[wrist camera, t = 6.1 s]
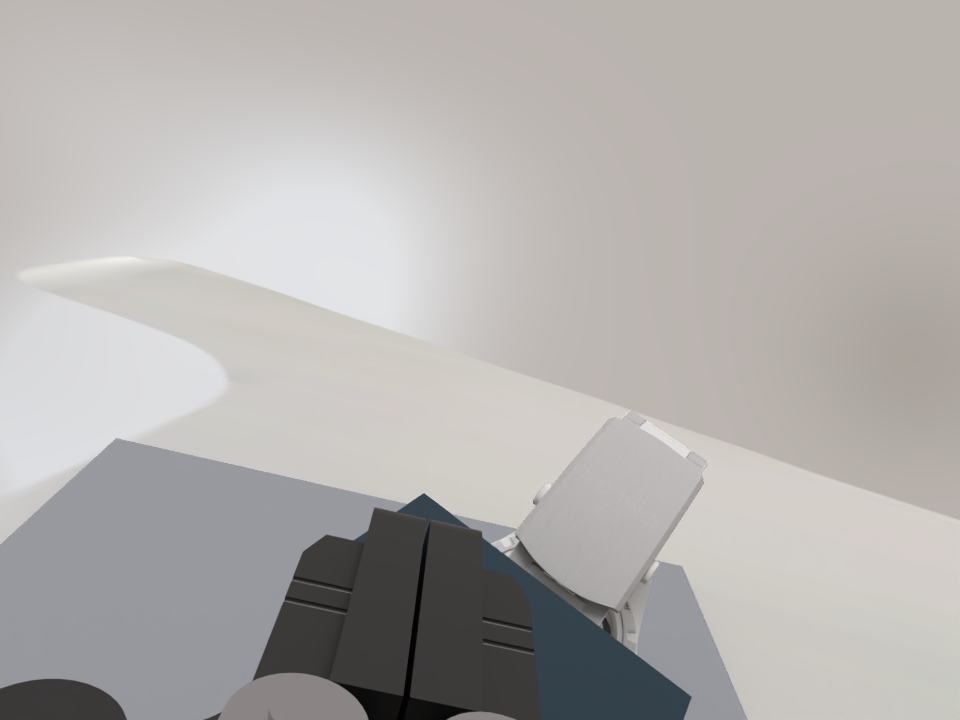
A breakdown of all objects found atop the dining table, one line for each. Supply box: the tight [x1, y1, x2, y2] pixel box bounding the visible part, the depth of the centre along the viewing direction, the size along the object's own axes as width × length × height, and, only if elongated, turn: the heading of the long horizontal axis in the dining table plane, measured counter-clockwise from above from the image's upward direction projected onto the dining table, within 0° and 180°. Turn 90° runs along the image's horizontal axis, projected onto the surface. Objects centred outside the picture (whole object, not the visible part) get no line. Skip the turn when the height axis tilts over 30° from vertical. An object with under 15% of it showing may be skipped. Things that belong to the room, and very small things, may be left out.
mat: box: [0, 439, 747, 720], centre depth 22 cm, size 20×14×1 cm
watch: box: [354, 411, 708, 720], centre depth 17 cm, size 6×8×11 cm
